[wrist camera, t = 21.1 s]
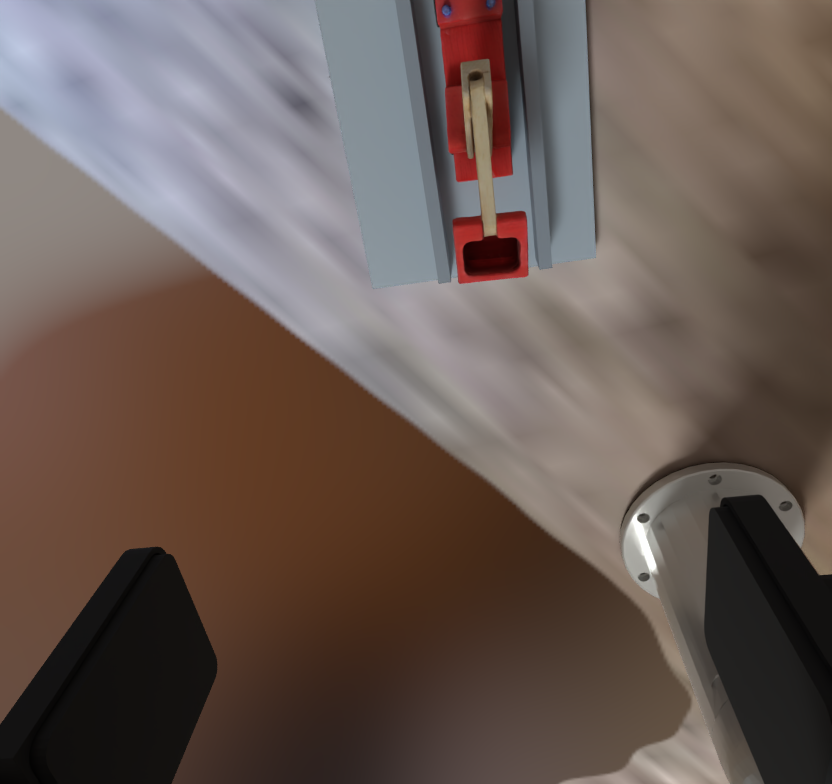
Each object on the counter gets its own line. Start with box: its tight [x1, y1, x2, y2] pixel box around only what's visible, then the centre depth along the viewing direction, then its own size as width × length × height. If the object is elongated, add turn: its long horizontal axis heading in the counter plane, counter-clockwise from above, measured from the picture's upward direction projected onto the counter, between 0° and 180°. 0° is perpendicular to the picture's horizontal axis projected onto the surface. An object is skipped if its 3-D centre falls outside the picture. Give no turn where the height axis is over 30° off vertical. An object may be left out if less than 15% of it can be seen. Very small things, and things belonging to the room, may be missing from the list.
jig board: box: [315, 0, 596, 289], centre depth 33 cm, size 23×14×4 cm, turn 9°
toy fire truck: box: [433, 0, 528, 284], centre depth 30 cm, size 3×14×10 cm, turn 8°
